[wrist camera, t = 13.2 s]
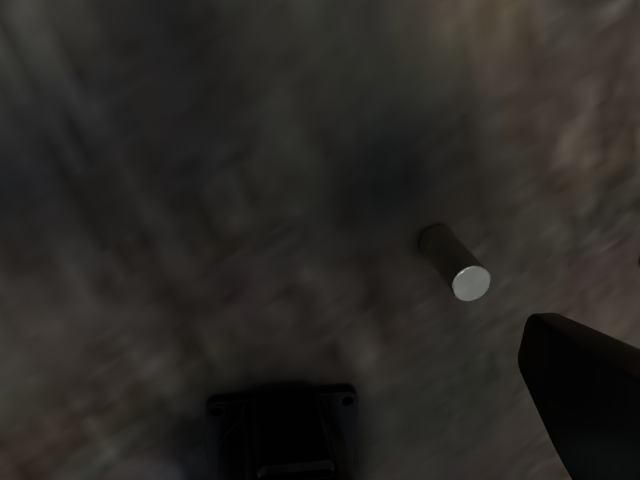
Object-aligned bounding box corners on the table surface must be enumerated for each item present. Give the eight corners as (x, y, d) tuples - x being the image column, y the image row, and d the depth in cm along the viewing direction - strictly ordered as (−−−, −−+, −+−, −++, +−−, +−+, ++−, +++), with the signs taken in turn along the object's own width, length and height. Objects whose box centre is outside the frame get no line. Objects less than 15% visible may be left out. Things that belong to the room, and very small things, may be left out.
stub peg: (450, 255, 23) (487, 301, 20) (416, 257, 22) (449, 303, 19) (455, 223, 22) (494, 265, 19) (421, 224, 22) (455, 267, 19)
